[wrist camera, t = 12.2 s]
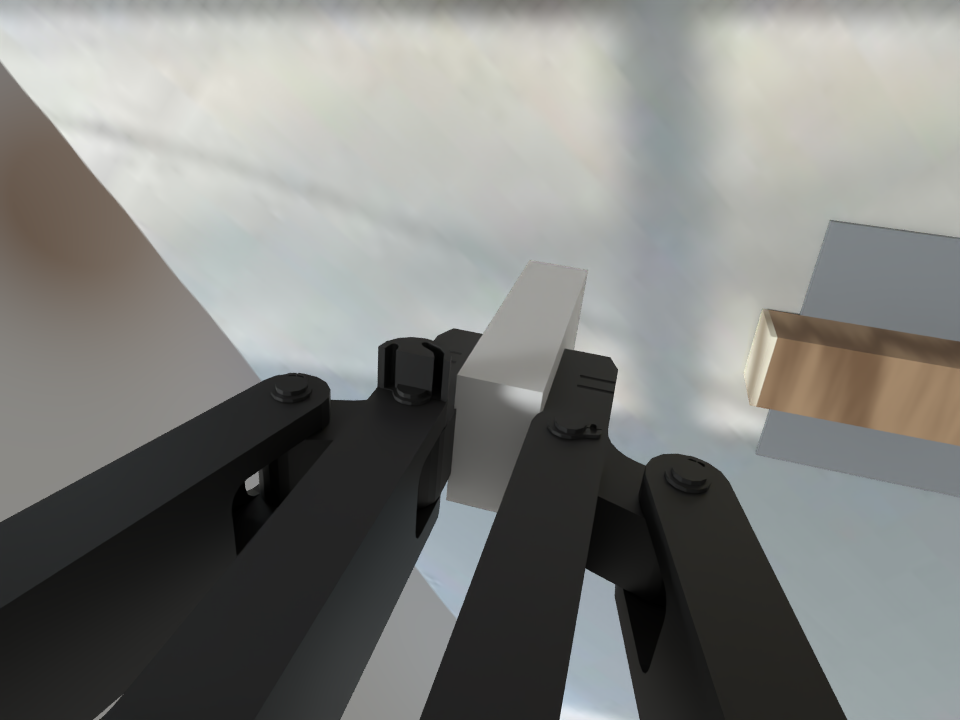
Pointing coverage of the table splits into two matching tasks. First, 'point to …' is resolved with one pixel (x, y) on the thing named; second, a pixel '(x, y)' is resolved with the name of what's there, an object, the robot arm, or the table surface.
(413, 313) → the table surface
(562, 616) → the robot arm
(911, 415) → the walnut block
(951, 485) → the mat
